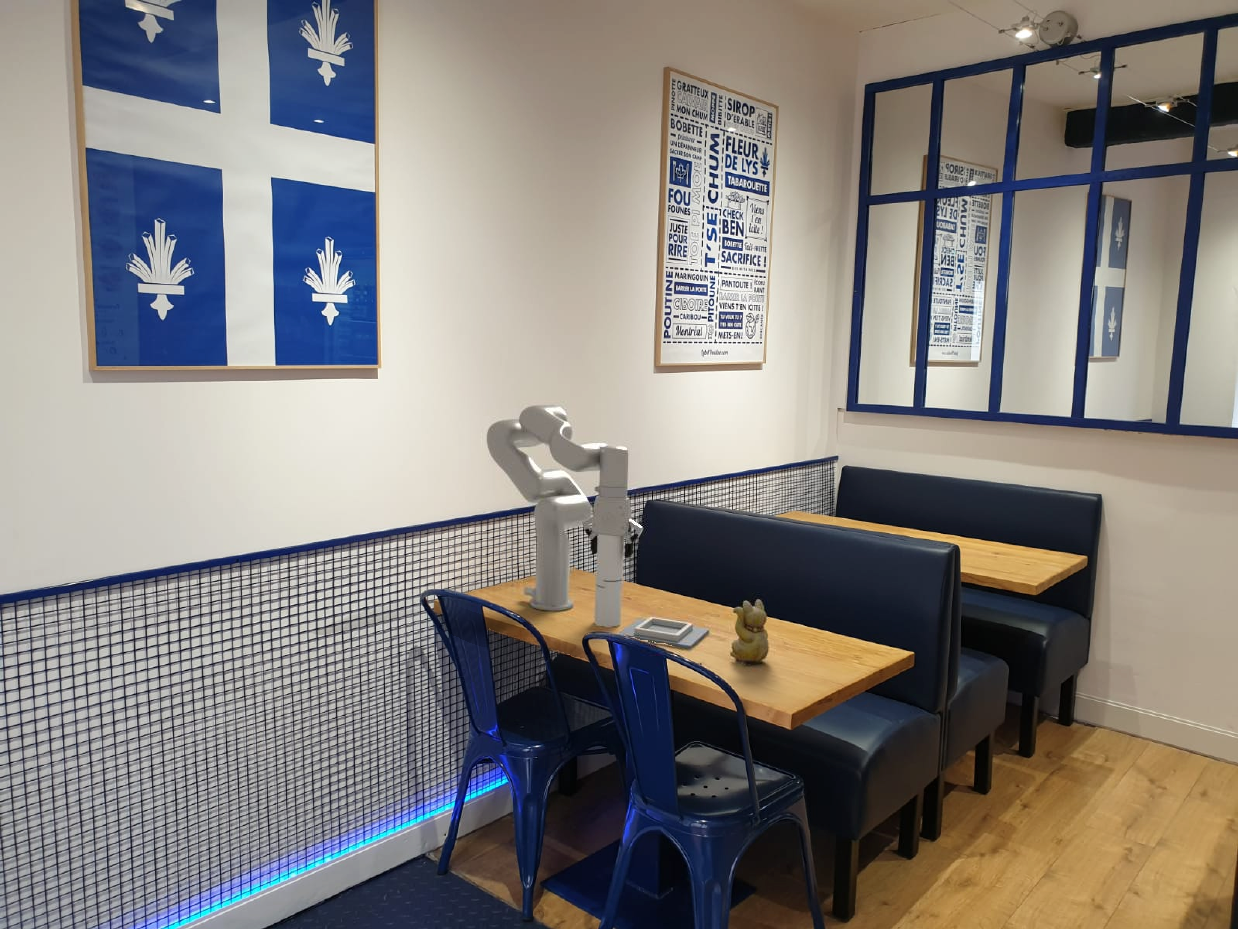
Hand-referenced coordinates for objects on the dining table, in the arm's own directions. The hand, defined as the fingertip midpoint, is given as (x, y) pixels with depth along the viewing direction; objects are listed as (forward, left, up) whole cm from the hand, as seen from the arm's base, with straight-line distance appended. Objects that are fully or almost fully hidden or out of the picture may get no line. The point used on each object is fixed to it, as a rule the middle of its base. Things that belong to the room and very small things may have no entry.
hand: (611, 555), depth 253 cm
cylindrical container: (0, 0, -19) cm, 19 cm away
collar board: (+17, -2, -19) cm, 25 cm away
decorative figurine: (+43, -11, -19) cm, 48 cm away
